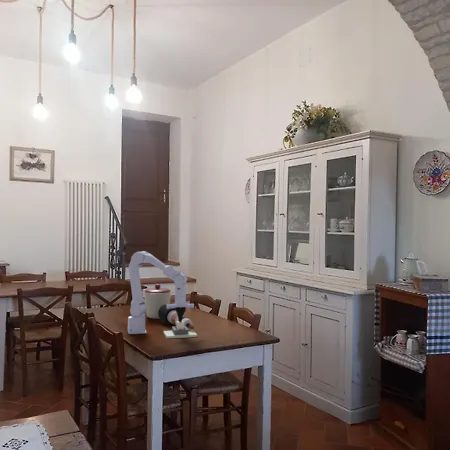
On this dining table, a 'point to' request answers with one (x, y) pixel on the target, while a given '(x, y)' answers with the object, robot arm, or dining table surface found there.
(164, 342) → the dining table surface
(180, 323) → the plug
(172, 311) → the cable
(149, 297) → the canister
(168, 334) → the board
